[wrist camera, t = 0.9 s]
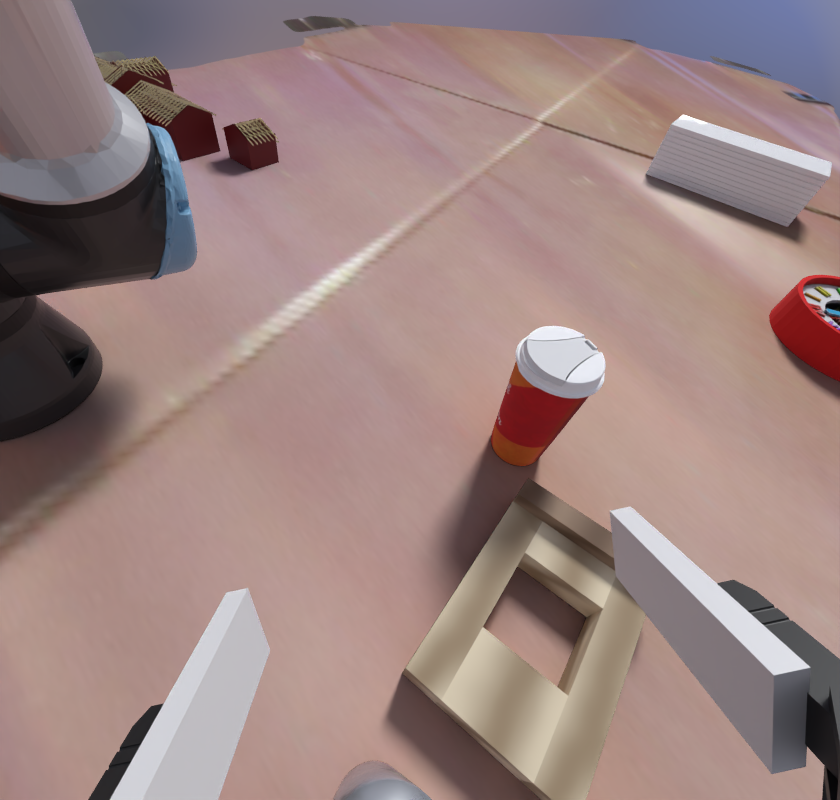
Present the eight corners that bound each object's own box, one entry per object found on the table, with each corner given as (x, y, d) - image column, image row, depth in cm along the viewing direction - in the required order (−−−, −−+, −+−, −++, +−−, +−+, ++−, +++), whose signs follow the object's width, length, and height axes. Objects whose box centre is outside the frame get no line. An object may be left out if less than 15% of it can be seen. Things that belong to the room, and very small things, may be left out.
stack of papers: (645, 175, 100) (671, 124, 92) (657, 163, 106) (682, 114, 98) (786, 228, 91) (830, 176, 82) (791, 212, 97) (832, 162, 88)
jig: (401, 673, 31) (407, 665, 28) (513, 500, 41) (528, 478, 38) (559, 816, 27) (588, 827, 24) (639, 586, 37) (669, 570, 34)
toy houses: (65, 107, 85) (36, 44, 77) (161, 92, 97) (144, 35, 89) (200, 191, 71) (181, 124, 63) (294, 161, 82) (288, 101, 75)
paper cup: (522, 407, 49) (570, 313, 38) (564, 459, 45) (631, 371, 34) (466, 428, 46) (501, 333, 35) (506, 486, 42) (558, 399, 31)
